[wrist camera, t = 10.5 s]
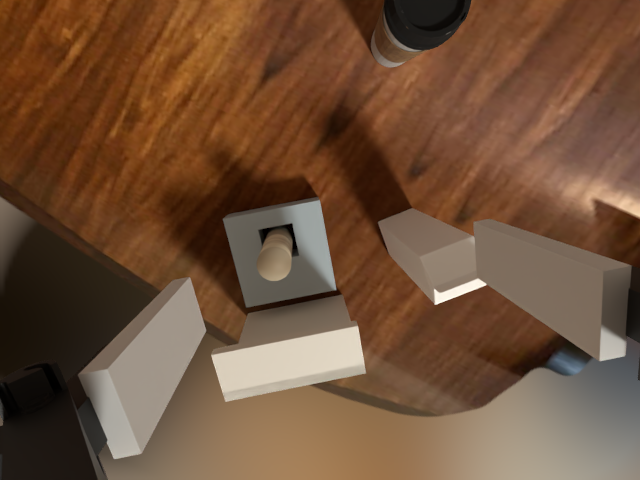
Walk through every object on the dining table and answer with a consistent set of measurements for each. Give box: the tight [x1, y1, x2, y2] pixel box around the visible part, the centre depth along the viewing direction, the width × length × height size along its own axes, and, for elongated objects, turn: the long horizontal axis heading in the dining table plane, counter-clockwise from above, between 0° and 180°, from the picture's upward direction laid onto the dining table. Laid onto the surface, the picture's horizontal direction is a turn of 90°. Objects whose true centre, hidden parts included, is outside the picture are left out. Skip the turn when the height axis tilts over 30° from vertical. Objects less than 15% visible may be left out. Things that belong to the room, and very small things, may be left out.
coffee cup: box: [371, 0, 471, 67], centre depth 39 cm, size 8×8×15 cm
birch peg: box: [257, 225, 293, 281], centre depth 45 cm, size 4×4×14 cm
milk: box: [378, 208, 487, 305], centre depth 42 cm, size 6×6×22 cm
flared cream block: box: [211, 295, 366, 401], centre depth 45 cm, size 6×16×19 cm, turn 101°
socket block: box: [223, 197, 336, 308], centre depth 51 cm, size 14×14×4 cm
